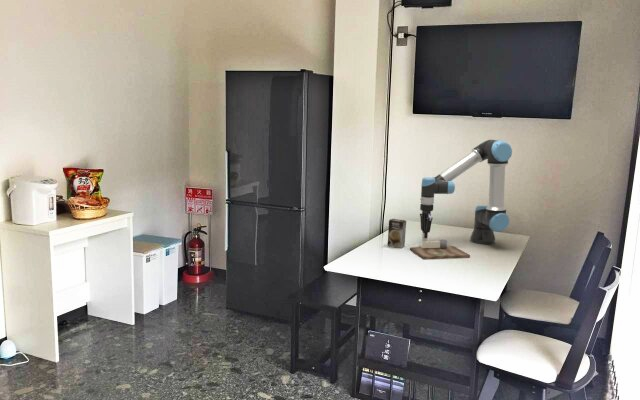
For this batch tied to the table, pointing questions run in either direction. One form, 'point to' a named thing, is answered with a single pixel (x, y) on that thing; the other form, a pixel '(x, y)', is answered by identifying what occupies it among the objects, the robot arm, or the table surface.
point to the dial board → (439, 253)
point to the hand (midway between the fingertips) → (424, 242)
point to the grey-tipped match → (435, 244)
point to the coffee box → (396, 233)
